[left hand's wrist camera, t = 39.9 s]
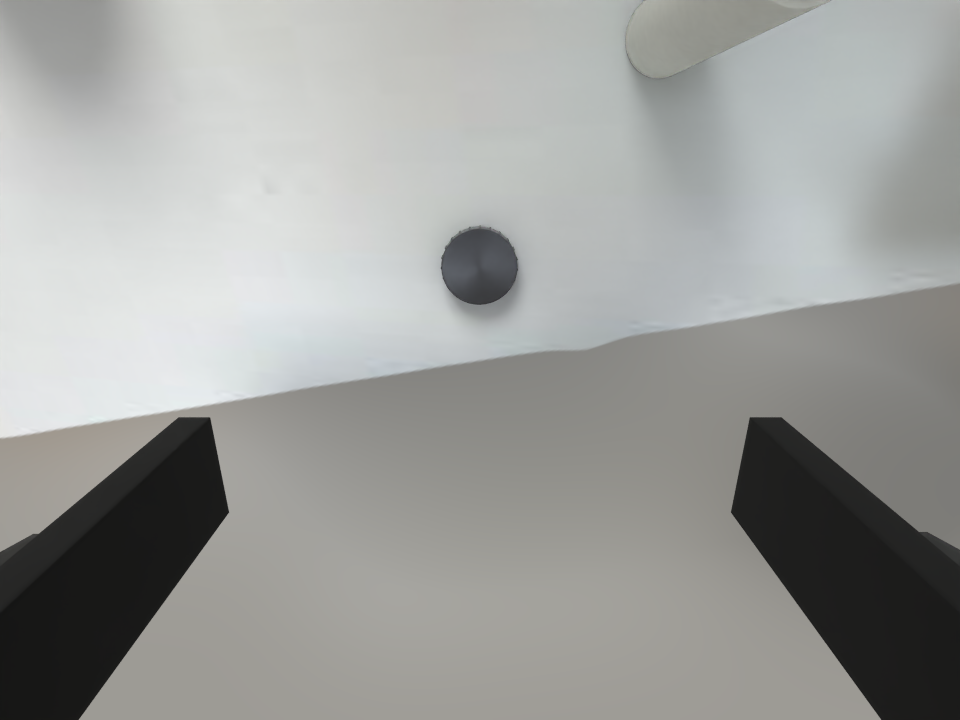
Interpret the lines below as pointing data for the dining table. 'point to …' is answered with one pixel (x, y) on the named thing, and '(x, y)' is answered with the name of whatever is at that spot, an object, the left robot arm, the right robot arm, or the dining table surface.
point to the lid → (479, 265)
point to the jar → (700, 29)
